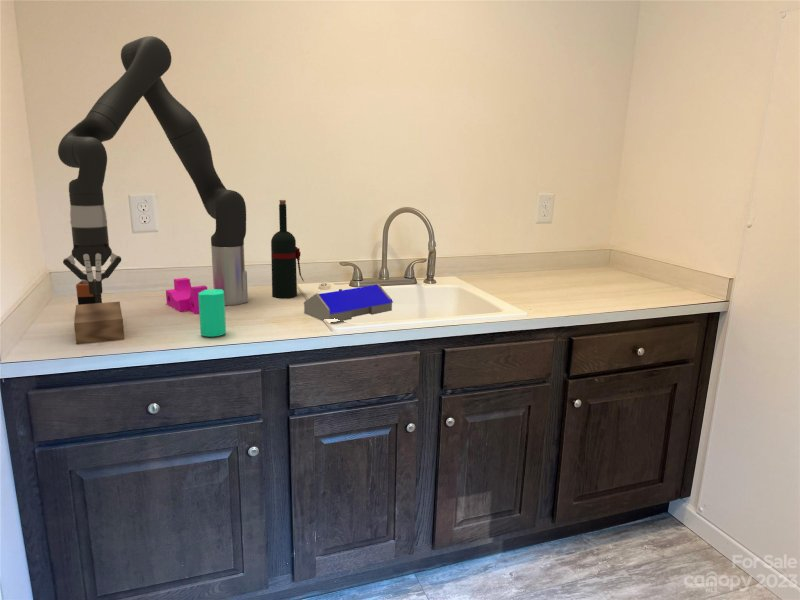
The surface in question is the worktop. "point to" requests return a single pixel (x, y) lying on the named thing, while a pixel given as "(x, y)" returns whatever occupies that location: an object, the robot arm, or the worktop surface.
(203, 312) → the candle
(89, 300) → the battery
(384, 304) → the roof
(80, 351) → the worktop surface
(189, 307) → the magenta bracket
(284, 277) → the wine bottle
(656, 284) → the worktop surface
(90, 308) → the walnut plinth
